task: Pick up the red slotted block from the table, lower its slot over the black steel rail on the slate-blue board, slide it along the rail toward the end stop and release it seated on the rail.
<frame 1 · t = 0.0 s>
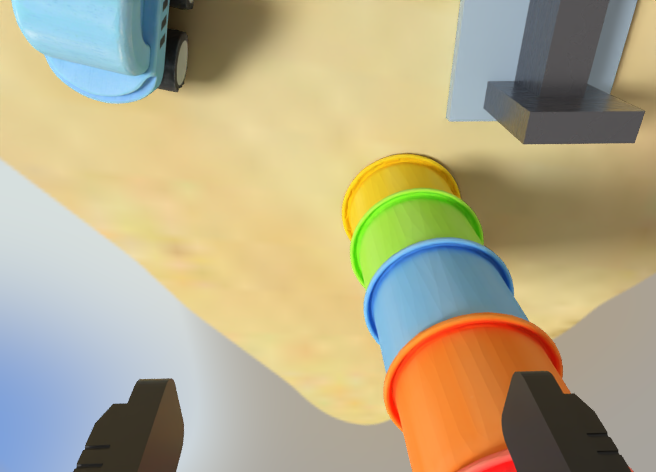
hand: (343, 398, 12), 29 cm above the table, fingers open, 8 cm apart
stacking cups: (399, 207, 42), on the table
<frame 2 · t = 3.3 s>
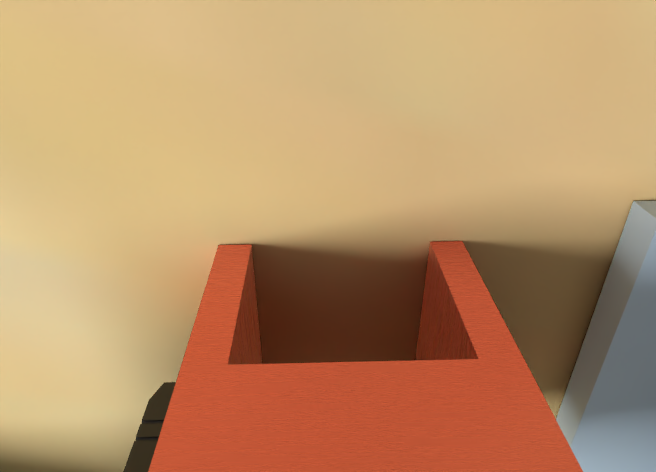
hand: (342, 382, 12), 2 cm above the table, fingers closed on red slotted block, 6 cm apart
red slotted block: (339, 335, 13), on the table, touching gripper
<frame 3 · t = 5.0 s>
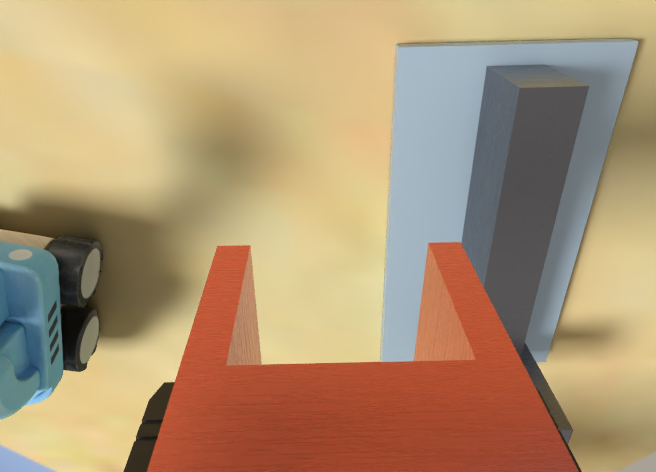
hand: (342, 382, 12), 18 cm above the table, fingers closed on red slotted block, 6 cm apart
red slotted block: (338, 336, 13), point 16 cm above the table, touching gripper
toy excavator: (35, 239, 30), on the table
coupler rail: (509, 272, 26), on the base board, point 5 cm above the table
base board: (481, 226, 31), on the table
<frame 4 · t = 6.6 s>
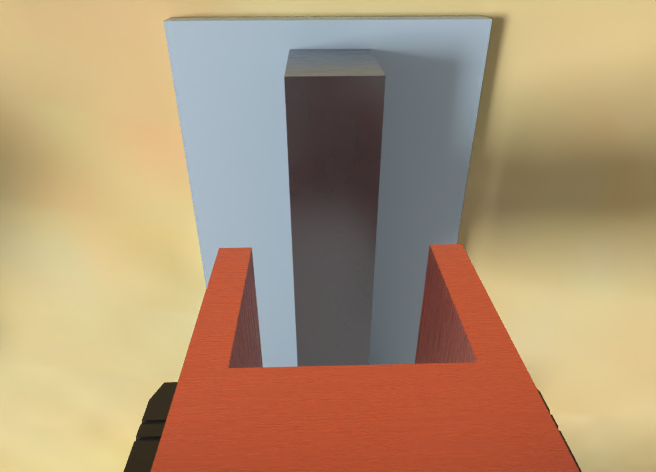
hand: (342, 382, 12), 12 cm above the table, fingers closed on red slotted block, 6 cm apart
red slotted block: (339, 337, 13), point 10 cm above the table, touching gripper
coupler rail: (332, 324, 20), on the base board, point 5 cm above the table
base board: (328, 257, 24), on the table
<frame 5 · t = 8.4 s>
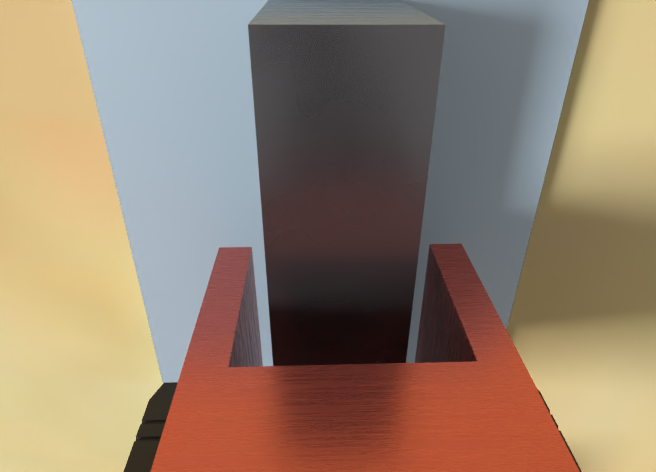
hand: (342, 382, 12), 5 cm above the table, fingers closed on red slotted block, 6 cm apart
red slotted block: (339, 337, 13), point 3 cm above the table, touching gripper
coupler rail: (336, 430, 13), on the base board, point 5 cm above the table
base board: (330, 310, 17), on the table
when the fingers open (5 cm above the table, at t = 10.1 s): red slotted block drops 2 cm, resting on coupler rail.
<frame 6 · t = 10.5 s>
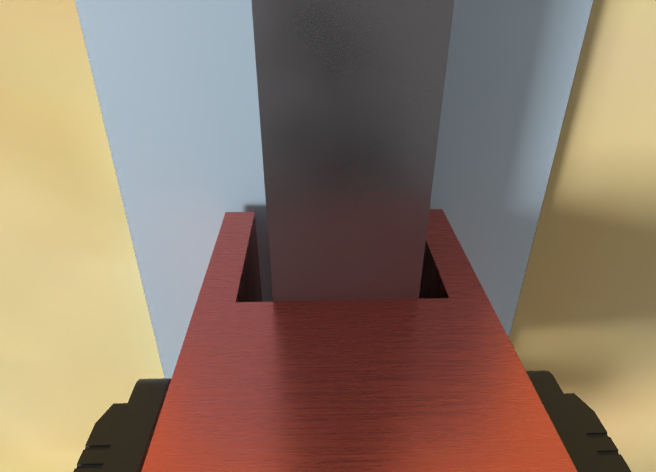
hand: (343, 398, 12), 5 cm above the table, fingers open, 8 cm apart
red slotted block: (333, 297, 15), point 1 cm above the table, touching coupler rail
coupler rail: (345, 248, 10), on the base board, point 5 cm above the table
base board: (334, 158, 14), on the table
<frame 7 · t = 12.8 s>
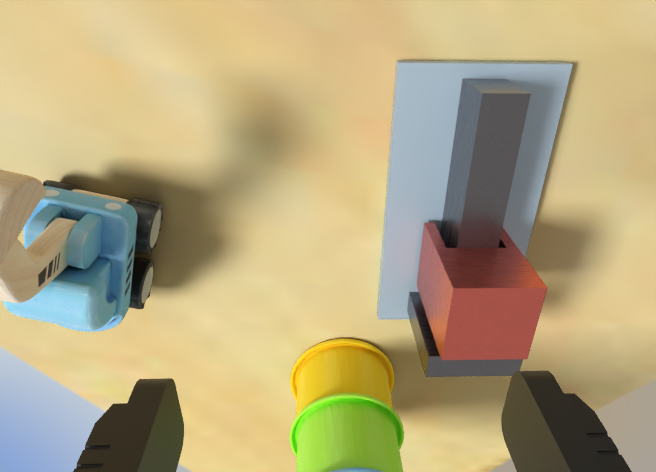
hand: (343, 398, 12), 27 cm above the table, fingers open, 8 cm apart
red slotted block: (456, 254, 40), point 1 cm above the table, touching coupler rail
toy excavator: (110, 202, 39), on the table
stacking cups: (341, 375, 48), on the table
coupler rail: (477, 233, 35), on the base board, point 5 cm above the table
base board: (459, 203, 39), on the table
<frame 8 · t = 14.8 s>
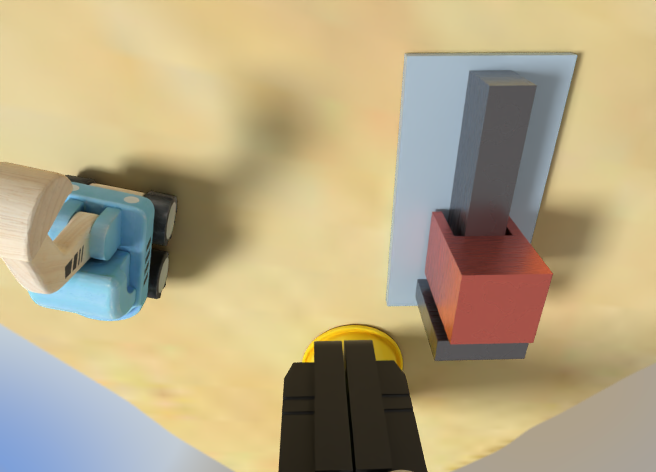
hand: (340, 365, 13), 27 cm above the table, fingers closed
red slotted block: (463, 242, 41), point 1 cm above the table, touching coupler rail
toy excavator: (126, 195, 40), on the table
stacking cups: (351, 360, 50), on the table
coupler rail: (484, 221, 36), on the base board, point 5 cm above the table
base board: (465, 192, 40), on the table
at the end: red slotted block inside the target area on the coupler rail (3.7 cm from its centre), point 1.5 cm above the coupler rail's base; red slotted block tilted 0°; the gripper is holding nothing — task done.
